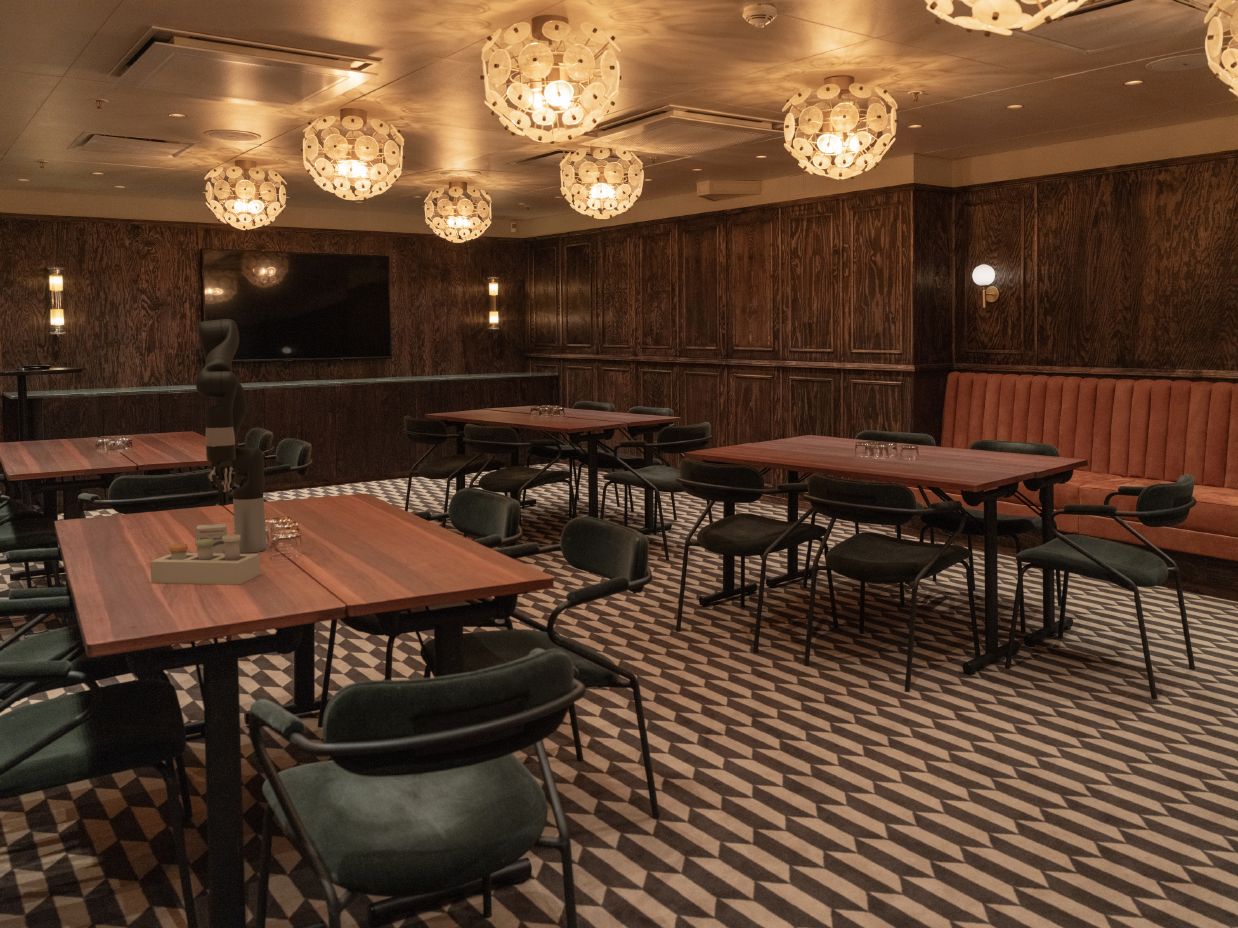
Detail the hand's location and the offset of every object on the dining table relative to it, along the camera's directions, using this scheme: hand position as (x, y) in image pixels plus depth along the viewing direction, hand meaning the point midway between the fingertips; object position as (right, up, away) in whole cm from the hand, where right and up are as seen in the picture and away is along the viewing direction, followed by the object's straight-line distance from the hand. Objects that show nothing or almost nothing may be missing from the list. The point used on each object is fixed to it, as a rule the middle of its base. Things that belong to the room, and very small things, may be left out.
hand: (223, 504), depth 275 cm
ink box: (-12, -19, +22) cm, 32 cm away
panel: (-6, -21, +4) cm, 22 cm away
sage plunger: (-6, -18, +3) cm, 20 cm away
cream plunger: (+2, -17, +2) cm, 17 cm away
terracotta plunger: (-14, -20, +4) cm, 25 cm away
